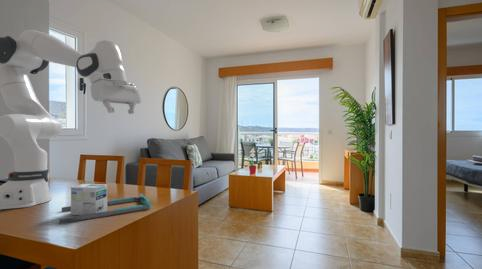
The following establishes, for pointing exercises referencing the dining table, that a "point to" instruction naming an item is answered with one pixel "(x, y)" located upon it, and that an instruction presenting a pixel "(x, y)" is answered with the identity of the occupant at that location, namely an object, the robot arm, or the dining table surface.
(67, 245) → the dining table surface
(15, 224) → the dining table surface
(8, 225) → the dining table surface
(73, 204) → the light bulb box
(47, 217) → the dining table surface
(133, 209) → the rail frame
